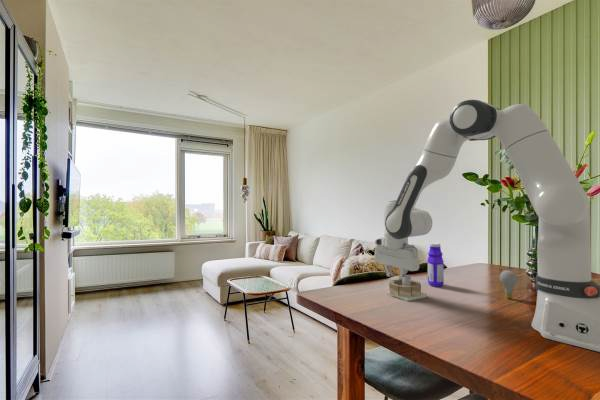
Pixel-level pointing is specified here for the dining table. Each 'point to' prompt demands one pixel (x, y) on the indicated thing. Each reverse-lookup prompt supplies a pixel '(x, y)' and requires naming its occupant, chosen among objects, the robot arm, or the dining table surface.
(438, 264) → the bottle
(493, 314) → the dining table surface
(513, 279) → the light bulb
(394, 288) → the ring
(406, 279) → the square peg stand
